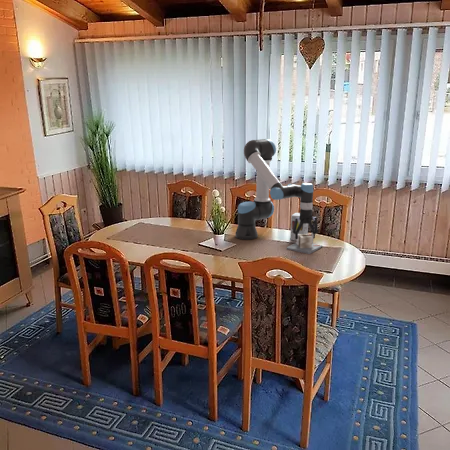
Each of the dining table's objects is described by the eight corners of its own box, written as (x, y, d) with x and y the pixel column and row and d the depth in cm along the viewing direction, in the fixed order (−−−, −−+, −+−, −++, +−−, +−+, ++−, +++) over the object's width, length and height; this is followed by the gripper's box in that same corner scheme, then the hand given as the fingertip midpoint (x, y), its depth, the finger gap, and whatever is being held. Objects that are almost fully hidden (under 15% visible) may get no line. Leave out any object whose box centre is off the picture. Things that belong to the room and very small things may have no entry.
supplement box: (289, 239, 307) (290, 215, 303) (294, 236, 315) (295, 212, 310) (303, 241, 303) (304, 216, 298) (308, 238, 311) (309, 213, 306)
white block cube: (300, 248, 286) (301, 236, 284) (297, 244, 292) (297, 233, 290) (311, 247, 286) (312, 236, 284) (308, 244, 293) (308, 233, 291)
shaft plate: (286, 249, 288) (286, 239, 286) (299, 242, 301) (300, 233, 299) (309, 254, 278) (310, 244, 277) (322, 247, 291) (322, 237, 290)
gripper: (291, 210, 278) (289, 246, 284) (325, 209, 281) (323, 244, 287) (287, 207, 285) (286, 242, 291) (320, 206, 288) (319, 241, 294)
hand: (304, 243), depth 289 cm, fingers open, 8 cm apart
